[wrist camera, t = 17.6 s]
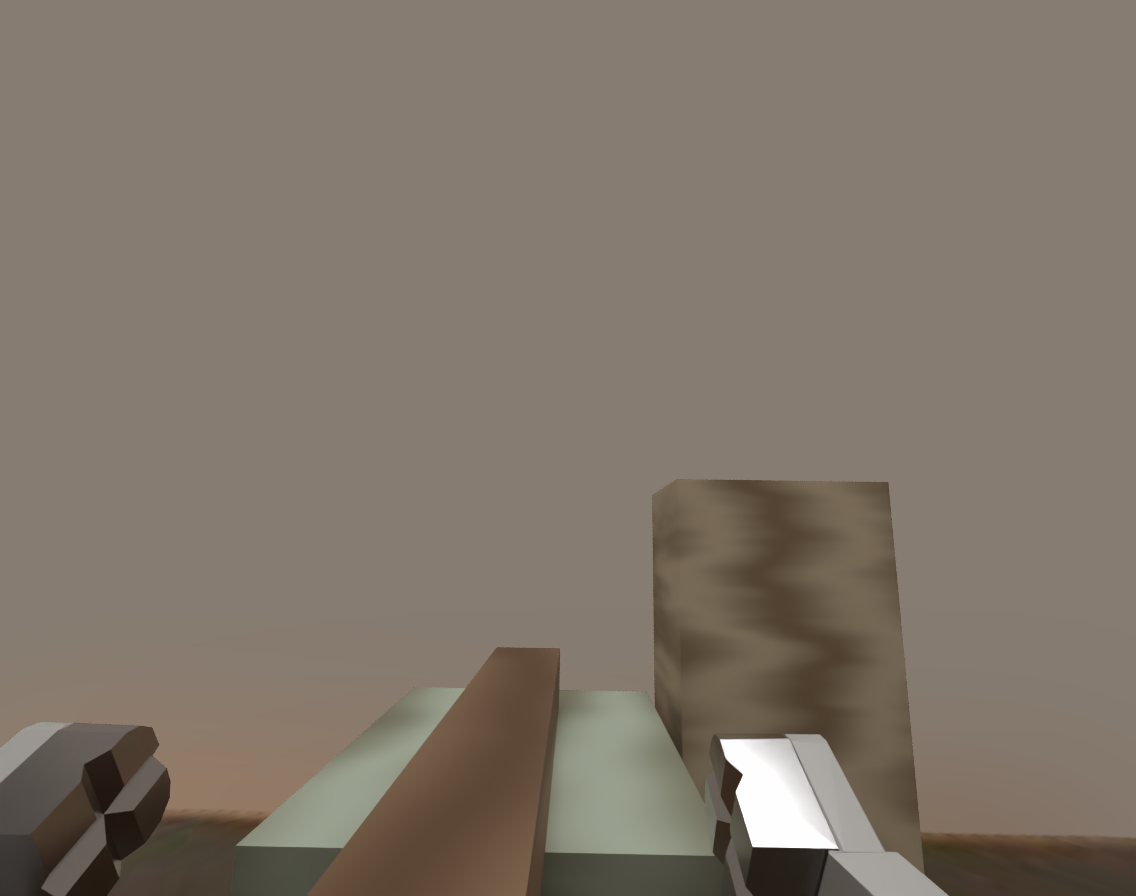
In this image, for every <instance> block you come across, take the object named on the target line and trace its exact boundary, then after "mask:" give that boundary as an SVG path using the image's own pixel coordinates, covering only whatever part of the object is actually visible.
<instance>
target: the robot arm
mask: <svg viewBox="0 0 1136 896" xmlns="http://www.w3.org/2000/svg"><path fill="white" fill-rule="evenodd" d="M158 746H159V743H158V741H157V738H156V736H155V733H154V731H153V728H152V727H145V726H134V725H112V724H88V723H52V722H51V723H50V722H39V723H37V724H35V725H32V726H30V727H27V728H25V729H23V730H21V731H20V732H19V733H18V734H17V735H16V736H14V737H13V738H12V739H11V740H10V741H9V742H7V743H6V744H5V745H4V746H3V747H2V748H0V896H107V894H108V893H109V892H110V890H111V889H112V888H113V886H114V885H115V883H116V882H117V881H118V879H119V877H120V866H121V860H122V859H124V858H125V857H126V856H128V855H129V854H131V853H132V852H133V851H135V850H136V849H138V848H139V847H140V846H142V845H143V844H145V842H146V841H147V840H148V838H149V837H150V835H151V834H152V832H153V831H154V830H155V828H156V827H157V825H158V824H159V823H160V821H161V818H162V816H163V813H164V811H165V808H166V805H167V803H168V800H169V798H170V778H169V775H168V771H167V768H166V767H165V766H164V765H162V764H161V763H160V762H159V761H158V760H156V759H155V758H154V757H153V754H154V753H155V751H156V749H157V748H158ZM709 755H710V759H711V762H712V766H713V771H712V772H711V773H709V774H708V775H707V776H706V784H705V816H706V822H707V829H708V835H709V839H710V844H711V848H712V853H713V854H714V855H715V856H716V857H717V858H718V860H719V861H720V862H721V863H722V864H723V865H724V870H723V877H722V884H721V891H722V895H723V896H948V895H947V894H946V893H945V892H944V891H943V890H941V889H940V888H939V887H938V886H937V885H935V884H934V883H933V882H932V881H931V880H930V879H928V878H927V877H926V876H925V875H924V874H923V873H921V872H920V871H919V870H918V869H917V868H915V867H914V866H913V865H912V864H911V863H910V862H908V861H907V860H906V859H905V858H904V857H903V856H901V855H900V854H899V853H898V852H886V851H885V850H884V848H883V846H882V844H881V842H880V840H879V839H878V837H877V835H876V833H875V831H874V829H873V827H872V825H871V823H870V822H869V820H868V818H867V816H866V814H865V812H864V810H863V808H862V807H861V805H860V803H859V801H858V799H857V797H856V795H855V793H854V792H853V790H852V788H851V786H850V784H849V782H848V780H847V778H846V776H845V775H844V773H843V771H842V769H841V767H840V765H839V763H838V761H837V760H836V758H835V756H834V754H833V752H832V750H831V748H830V746H829V744H828V743H827V741H826V740H825V739H824V738H823V737H822V736H821V735H819V734H784V735H782V734H714V735H713V737H712V739H711V744H710V751H709Z"/></svg>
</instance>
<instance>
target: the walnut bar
mask: <svg viewBox="0 0 1136 896" xmlns="http://www.w3.org/2000/svg"><path fill="white" fill-rule="evenodd" d="M559 671H560V649H557V648H556V649H555V648H501V647H497V648H496V649H495V650H494V652H493V653H492V655H491V656H490V657H489V658H488V660H487V661H486V662H485V664H484V665H483V666H482V667H481V669H480V670H479V671H478V673H477V674H476V675H475V677H474V678H473V679H472V681H471V682H470V683H469V684H468V686H467V687H466V688H465V690H464V691H463V692H462V694H461V695H460V696H459V697H458V699H457V700H456V701H455V703H454V704H453V705H452V707H451V708H450V709H449V710H448V712H447V713H446V714H445V716H444V717H443V718H442V720H441V721H440V722H439V724H438V725H437V726H436V727H435V729H434V730H433V731H432V733H431V734H430V735H429V737H428V738H427V739H426V741H425V742H424V743H423V744H422V746H421V747H420V748H419V750H418V751H417V752H416V754H415V755H414V756H413V757H412V759H411V760H410V761H409V763H408V764H407V765H406V767H405V768H404V769H403V771H402V772H401V773H400V774H399V776H398V777H397V778H396V780H395V781H394V782H393V784H392V785H391V786H390V787H389V789H388V790H387V791H386V793H385V794H384V795H383V797H382V798H381V799H380V801H379V802H378V803H377V804H376V806H375V807H374V808H373V810H372V811H371V812H370V814H369V815H368V816H367V817H366V819H365V820H364V821H363V823H362V824H361V825H360V827H359V828H358V829H357V831H356V832H355V833H354V834H353V836H352V837H351V838H350V840H349V841H348V842H347V844H346V845H345V846H344V847H343V849H342V850H341V851H340V853H339V854H338V855H337V857H336V858H335V859H334V861H333V862H332V863H331V864H330V866H329V867H328V868H327V870H326V871H325V872H324V874H323V875H322V876H321V877H320V879H319V880H318V881H317V883H316V884H315V885H314V887H313V888H312V889H311V891H310V892H309V893H308V894H307V896H541V889H542V878H543V868H544V857H545V847H546V836H547V826H548V815H549V804H550V794H551V783H552V773H553V762H554V752H555V741H556V730H557V720H558V709H559Z"/></svg>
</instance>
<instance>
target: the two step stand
mask: <svg viewBox="0 0 1136 896" xmlns="http://www.w3.org/2000/svg"><path fill="white" fill-rule="evenodd" d="M652 515H653V517H652V518H653V592H654V593H653V597H654V670H655V671H654V676H655V707H654V705H653V703H652V701H651V699H650V697H649V695H648V693H647V692H634V691H631V692H630V691H628V692H627V691H578V690H576V691H575V690H559V709H558V720H557V730H556V741H555V752H554V762H553V773H552V783H551V794H550V804H549V815H548V826H547V836H546V847H545V857H544V868H543V878H542V889H541V896H723V895H722V891H721V884H722V877H723V870H724V865H723V864H722V863H721V862H720V861H719V860H718V858H717V857H716V856H715V855H714V854H713V853H712V848H711V844H710V839H709V835H708V829H707V822H706V816H705V784H706V776H707V775H708V774H709V773H711V772H712V771H713V766H712V762H711V759H710V755H709V751H710V744H711V739H712V737H713V735H714V734H782V735H784V734H819V735H821V736H822V737H823V738H824V739H825V740H826V741H827V743H828V744H829V746H830V748H831V750H832V752H833V754H834V756H835V758H836V760H837V761H838V763H839V765H840V767H841V769H842V771H843V773H844V775H845V776H846V778H847V780H848V782H849V784H850V786H851V788H852V790H853V792H854V793H855V795H856V797H857V799H858V801H859V803H860V805H861V807H862V808H863V810H864V812H865V814H866V816H867V818H868V820H869V822H870V823H871V825H872V827H873V829H874V831H875V833H876V835H877V837H878V839H879V840H880V842H881V844H882V846H883V848H884V850H885V851H886V852H898V853H899V854H900V855H901V856H903V857H904V858H905V859H906V860H907V861H908V862H910V863H911V864H912V865H913V866H914V867H915V868H917V869H918V870H919V871H920V872H921V873H923V874H924V866H923V855H922V845H921V834H920V823H919V812H918V801H917V791H916V780H915V768H914V758H913V747H912V736H911V725H910V714H909V703H908V692H907V681H906V671H905V659H904V649H903V638H902V627H901V616H900V606H899V594H898V584H897V573H896V562H895V552H894V540H893V529H892V518H891V507H890V496H889V485H888V482H832V481H829V482H828V481H827V482H826V481H762V480H755V481H754V480H692V479H687V480H686V479H676V480H675V481H673V482H672V483H670V484H669V485H667V486H666V487H664V488H663V489H661V490H659V491H658V492H656V493H655V494H653V495H652ZM464 690H465V688H413V689H412V690H411V691H409V692H408V693H407V694H406V695H405V696H404V697H403V698H402V699H400V700H399V701H398V702H397V703H396V704H395V705H394V706H392V707H391V708H390V709H389V710H388V711H387V712H386V713H385V714H384V715H382V716H381V717H380V718H379V719H378V720H377V721H376V722H374V723H373V724H372V725H371V726H370V727H369V728H368V729H367V730H365V731H364V732H363V733H362V734H361V735H360V736H359V737H358V738H356V739H355V740H354V741H353V742H352V743H351V744H350V745H349V746H347V747H346V748H345V749H344V750H343V751H342V752H341V753H340V754H338V755H337V756H336V757H335V758H334V759H333V760H332V761H331V762H330V763H328V764H327V765H326V766H325V767H324V768H323V769H322V770H320V771H319V772H318V773H317V774H316V775H315V776H314V777H313V778H312V779H310V780H309V781H308V782H307V783H306V784H305V785H304V786H302V787H301V788H300V789H299V790H298V791H297V792H296V793H295V794H293V795H292V796H291V797H290V798H289V799H288V800H287V801H286V802H284V803H283V804H282V805H281V806H280V807H279V808H278V809H277V810H275V811H274V812H273V813H272V814H271V815H270V816H269V817H268V818H266V819H265V820H264V821H263V822H262V823H261V824H260V825H259V826H257V827H256V828H255V829H254V830H253V831H252V832H251V833H250V834H248V835H247V836H246V837H245V838H244V839H243V840H242V841H241V842H239V843H238V844H237V845H236V848H235V857H234V866H233V875H232V884H231V893H230V896H307V894H308V893H309V892H310V891H311V889H312V888H313V887H314V885H315V884H316V883H317V881H318V880H319V879H320V877H321V876H322V875H323V874H324V872H325V871H326V870H327V868H328V867H329V866H330V864H331V863H332V862H333V861H334V859H335V858H336V857H337V855H338V854H339V853H340V851H341V850H342V849H343V847H344V846H345V845H346V844H347V842H348V841H349V840H350V838H351V837H352V836H353V834H354V833H355V832H356V831H357V829H358V828H359V827H360V825H361V824H362V823H363V821H364V820H365V819H366V817H367V816H368V815H369V814H370V812H371V811H372V810H373V808H374V807H375V806H376V804H377V803H378V802H379V801H380V799H381V798H382V797H383V795H384V794H385V793H386V791H387V790H388V789H389V787H390V786H391V785H392V784H393V782H394V781H395V780H396V778H397V777H398V776H399V774H400V773H401V772H402V771H403V769H404V768H405V767H406V765H407V764H408V763H409V761H410V760H411V759H412V757H413V756H414V755H415V754H416V752H417V751H418V750H419V748H420V747H421V746H422V744H423V743H424V742H425V741H426V739H427V738H428V737H429V735H430V734H431V733H432V731H433V730H434V729H435V727H436V726H437V725H438V724H439V722H440V721H441V720H442V718H443V717H444V716H445V714H446V713H447V712H448V710H449V709H450V708H451V707H452V705H453V704H454V703H455V701H456V700H457V699H458V697H459V696H460V695H461V694H462V692H463V691H464Z"/></svg>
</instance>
